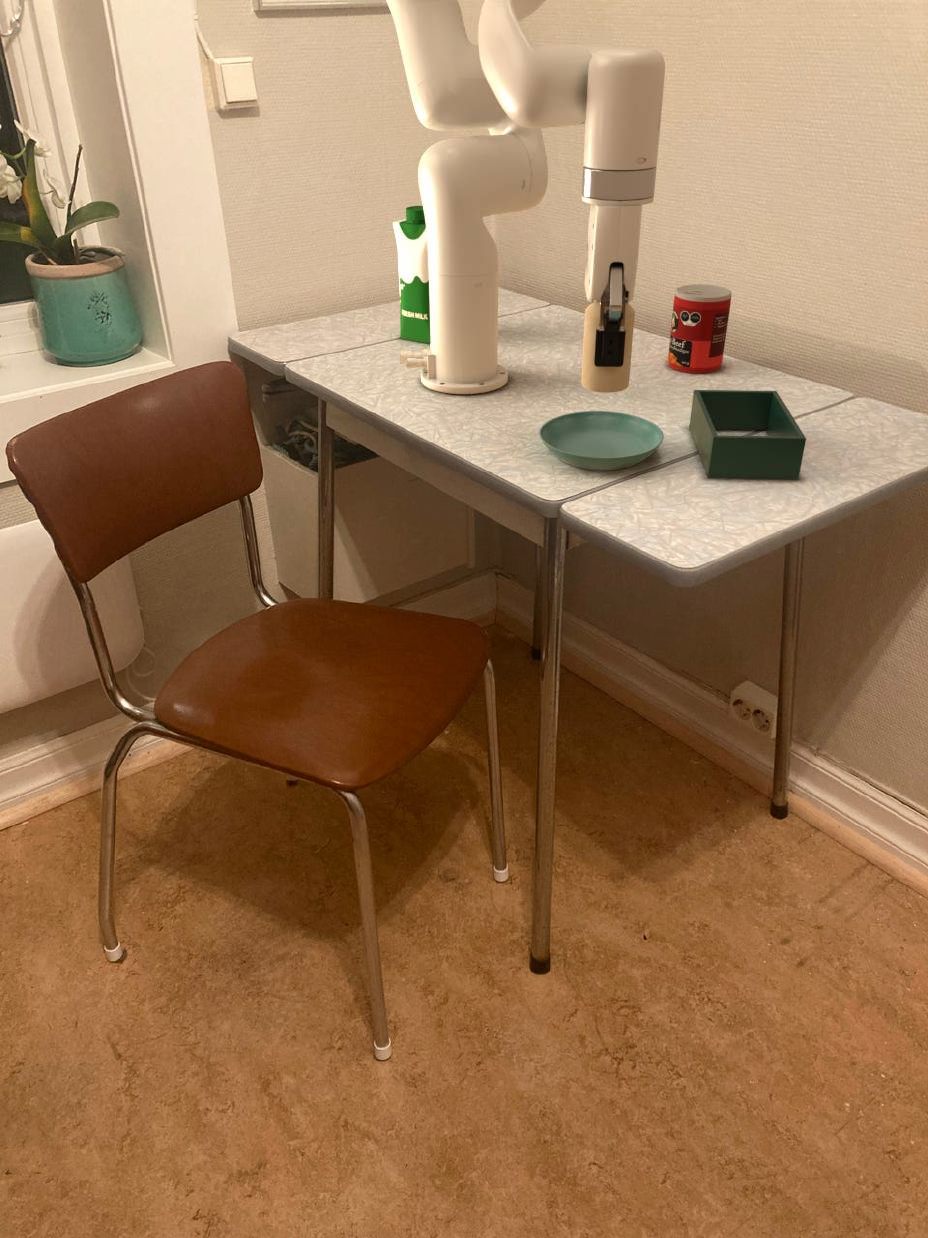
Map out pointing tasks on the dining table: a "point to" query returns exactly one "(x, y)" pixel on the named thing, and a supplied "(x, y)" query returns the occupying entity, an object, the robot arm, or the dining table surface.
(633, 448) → the saucer
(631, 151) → the robot arm
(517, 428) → the dining table surface
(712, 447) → the case
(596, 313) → the candle
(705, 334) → the canned food
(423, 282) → the milk carton
